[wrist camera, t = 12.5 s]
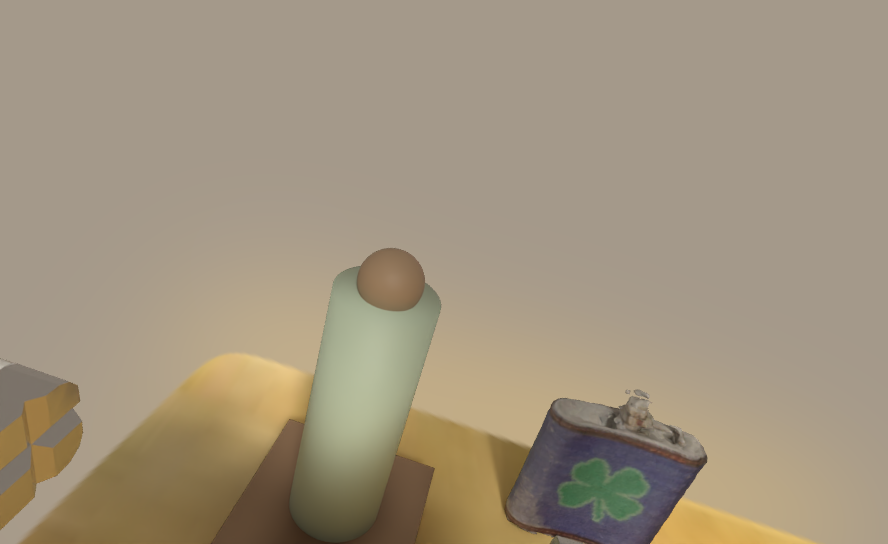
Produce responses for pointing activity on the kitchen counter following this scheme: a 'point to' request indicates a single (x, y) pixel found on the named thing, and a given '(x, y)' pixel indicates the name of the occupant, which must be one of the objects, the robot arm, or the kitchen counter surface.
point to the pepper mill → (362, 393)
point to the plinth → (267, 495)
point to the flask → (603, 473)
